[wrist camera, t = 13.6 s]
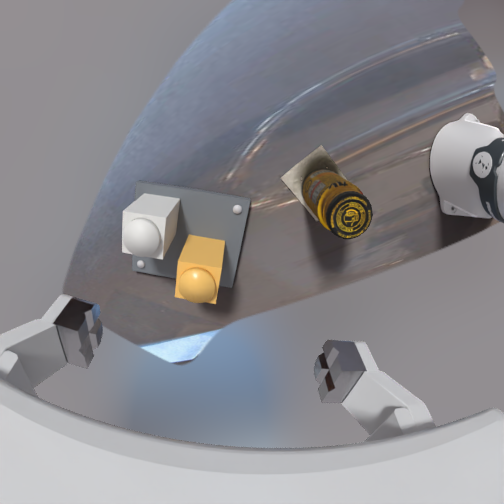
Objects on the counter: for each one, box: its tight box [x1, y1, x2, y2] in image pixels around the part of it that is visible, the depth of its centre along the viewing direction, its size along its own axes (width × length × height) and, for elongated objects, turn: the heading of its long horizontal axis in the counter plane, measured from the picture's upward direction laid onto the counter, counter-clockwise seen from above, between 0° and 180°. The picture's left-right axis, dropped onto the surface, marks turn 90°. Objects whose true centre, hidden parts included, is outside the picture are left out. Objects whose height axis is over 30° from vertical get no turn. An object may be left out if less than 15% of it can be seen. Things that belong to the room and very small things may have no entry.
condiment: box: [281, 146, 373, 239], centre depth 33 cm, size 7×8×12 cm
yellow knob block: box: [175, 235, 225, 304], centre depth 37 cm, size 5×5×9 cm
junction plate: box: [122, 181, 250, 288], centre depth 36 cm, size 16×14×10 cm
